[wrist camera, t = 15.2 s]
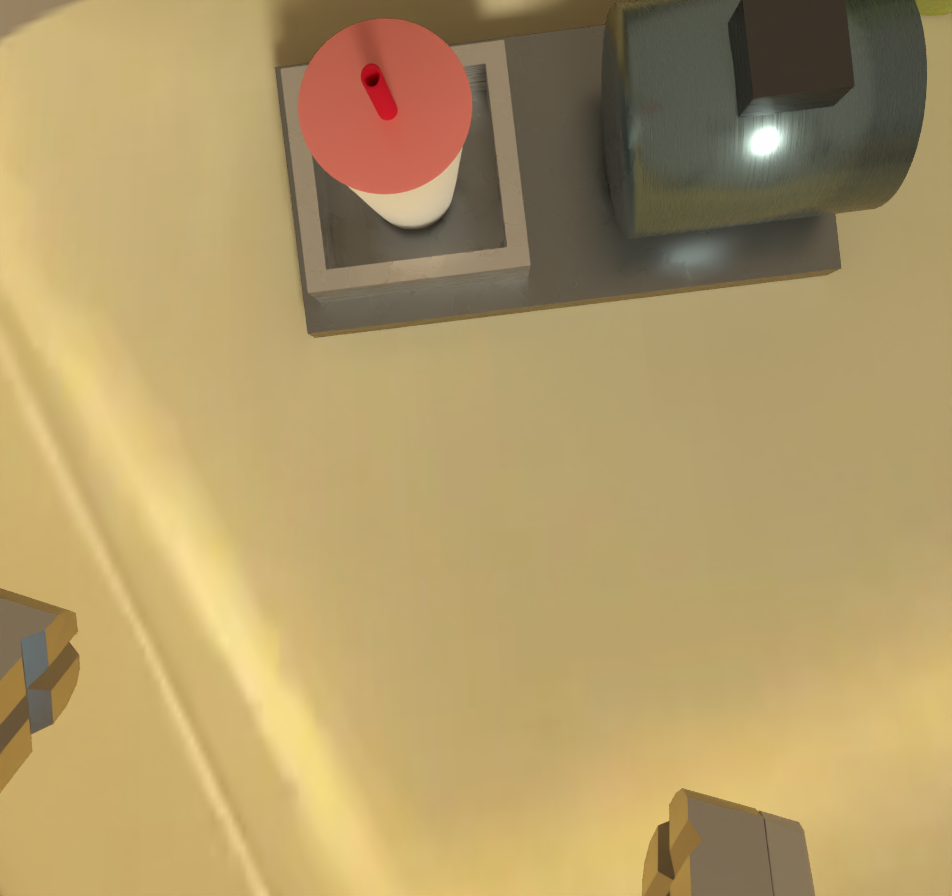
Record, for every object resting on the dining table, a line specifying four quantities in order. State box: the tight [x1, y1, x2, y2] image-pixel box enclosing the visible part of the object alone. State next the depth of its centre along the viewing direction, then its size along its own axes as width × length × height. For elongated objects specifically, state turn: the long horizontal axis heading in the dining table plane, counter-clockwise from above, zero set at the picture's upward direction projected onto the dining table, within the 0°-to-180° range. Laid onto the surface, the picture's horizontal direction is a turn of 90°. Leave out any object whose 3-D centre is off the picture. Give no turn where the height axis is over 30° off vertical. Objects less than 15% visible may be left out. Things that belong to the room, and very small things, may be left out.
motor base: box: [275, 0, 927, 338], centre depth 31 cm, size 22×11×11 cm, turn 97°
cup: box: [298, 18, 472, 229], centre depth 29 cm, size 5×5×12 cm
